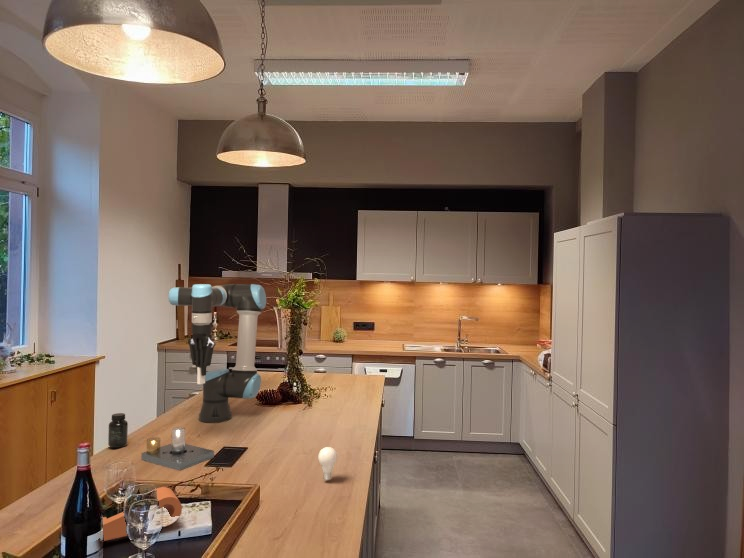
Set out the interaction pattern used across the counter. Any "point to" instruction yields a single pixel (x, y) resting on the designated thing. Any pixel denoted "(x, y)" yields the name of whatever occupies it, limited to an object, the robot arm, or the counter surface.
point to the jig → (169, 460)
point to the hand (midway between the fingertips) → (201, 383)
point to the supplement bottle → (118, 431)
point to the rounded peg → (178, 440)
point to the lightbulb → (327, 461)
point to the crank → (117, 524)
